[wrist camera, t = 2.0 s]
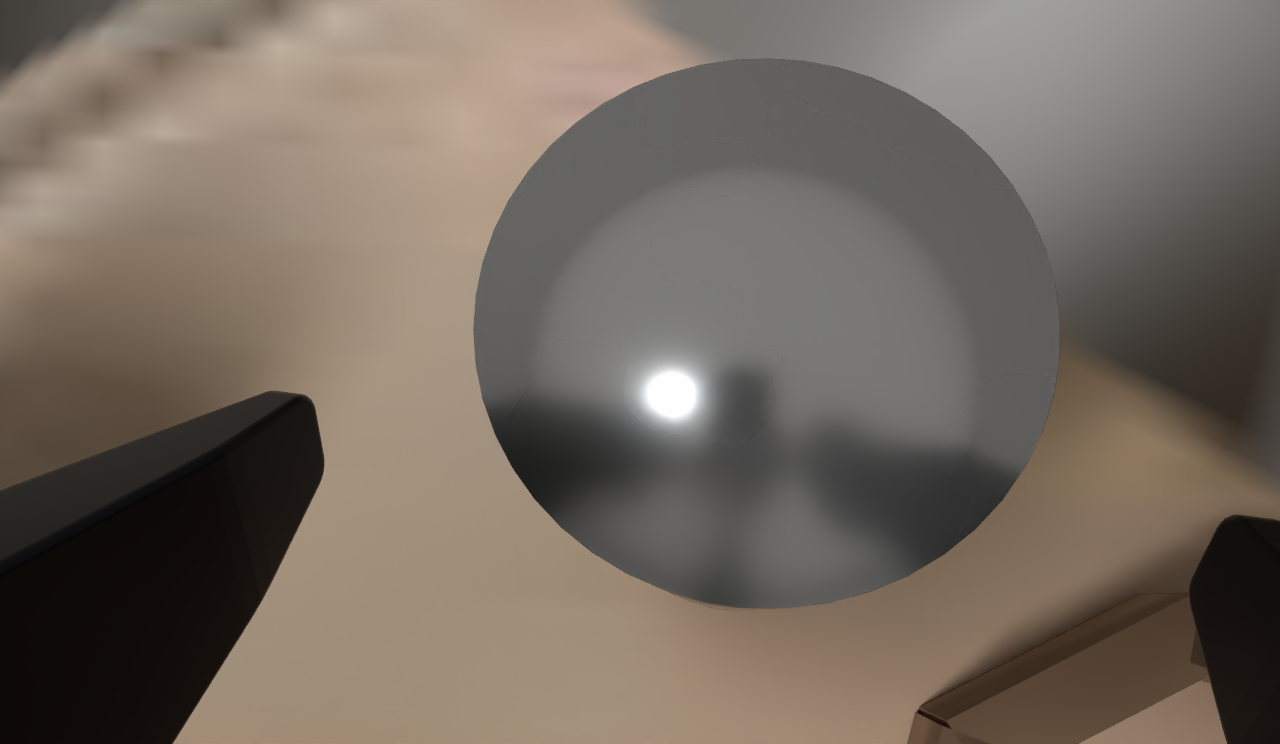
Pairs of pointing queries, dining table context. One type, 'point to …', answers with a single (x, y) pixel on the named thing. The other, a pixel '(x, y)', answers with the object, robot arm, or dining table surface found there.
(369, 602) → the dining table surface
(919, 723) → the bore ring
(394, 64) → the dining table surface
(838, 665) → the dining table surface
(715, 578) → the metal tumbler
